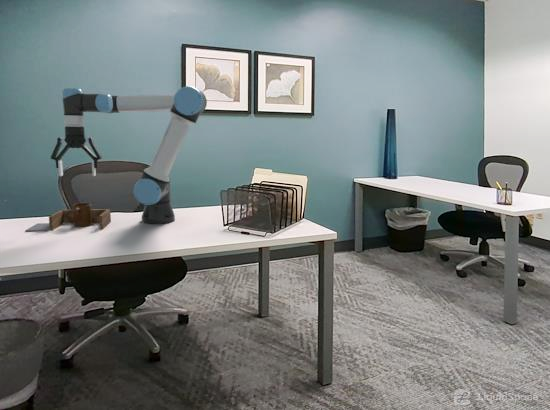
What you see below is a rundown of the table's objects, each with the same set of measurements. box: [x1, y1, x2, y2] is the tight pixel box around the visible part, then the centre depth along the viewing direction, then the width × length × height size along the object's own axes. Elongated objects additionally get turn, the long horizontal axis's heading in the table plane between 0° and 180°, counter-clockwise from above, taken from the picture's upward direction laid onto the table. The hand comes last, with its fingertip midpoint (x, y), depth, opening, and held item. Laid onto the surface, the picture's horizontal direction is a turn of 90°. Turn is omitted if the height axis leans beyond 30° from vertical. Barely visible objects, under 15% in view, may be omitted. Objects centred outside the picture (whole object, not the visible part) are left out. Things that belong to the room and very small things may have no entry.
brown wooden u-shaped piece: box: [48, 208, 112, 231], centre depth 192 cm, size 21×15×6 cm
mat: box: [25, 222, 51, 233], centre depth 188 cm, size 9×13×1 cm, turn 8°
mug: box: [72, 202, 93, 228], centre depth 191 cm, size 12×8×9 cm, turn 4°
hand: (77, 175), depth 188 cm, fingers open, 13 cm apart
